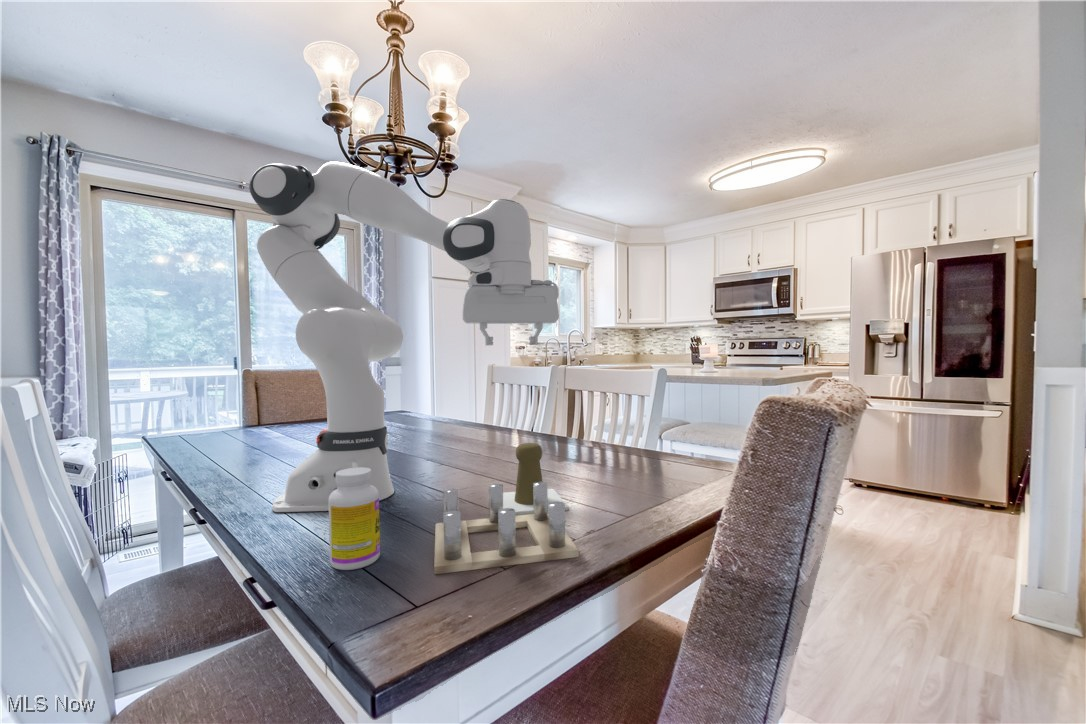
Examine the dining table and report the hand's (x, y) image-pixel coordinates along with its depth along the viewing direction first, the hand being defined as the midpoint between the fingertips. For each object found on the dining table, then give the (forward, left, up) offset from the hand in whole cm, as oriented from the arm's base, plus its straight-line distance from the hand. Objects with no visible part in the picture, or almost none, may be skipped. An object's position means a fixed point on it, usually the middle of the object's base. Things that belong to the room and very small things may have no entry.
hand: (511, 345), depth 95 cm
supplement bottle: (-27, -26, -31) cm, 49 cm away
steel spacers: (-6, -25, -31) cm, 40 cm away
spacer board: (-6, -25, -31) cm, 40 cm away
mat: (+2, -8, -31) cm, 32 cm away
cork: (+2, -8, -31) cm, 32 cm away
